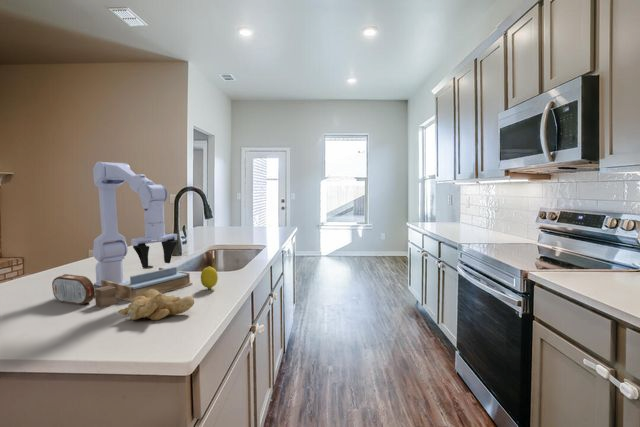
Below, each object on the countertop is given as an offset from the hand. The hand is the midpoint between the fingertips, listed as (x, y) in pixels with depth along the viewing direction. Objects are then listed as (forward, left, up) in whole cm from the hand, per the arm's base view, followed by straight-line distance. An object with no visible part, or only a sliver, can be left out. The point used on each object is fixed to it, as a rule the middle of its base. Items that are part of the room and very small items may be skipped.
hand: (156, 265), depth 115 cm
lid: (-7, +4, -7) cm, 10 cm away
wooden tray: (-11, +3, -10) cm, 16 cm away
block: (-6, -13, -10) cm, 18 cm away
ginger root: (+16, -11, -10) cm, 22 cm away
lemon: (+8, +14, -10) cm, 19 cm away
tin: (-16, -17, -10) cm, 26 cm away
